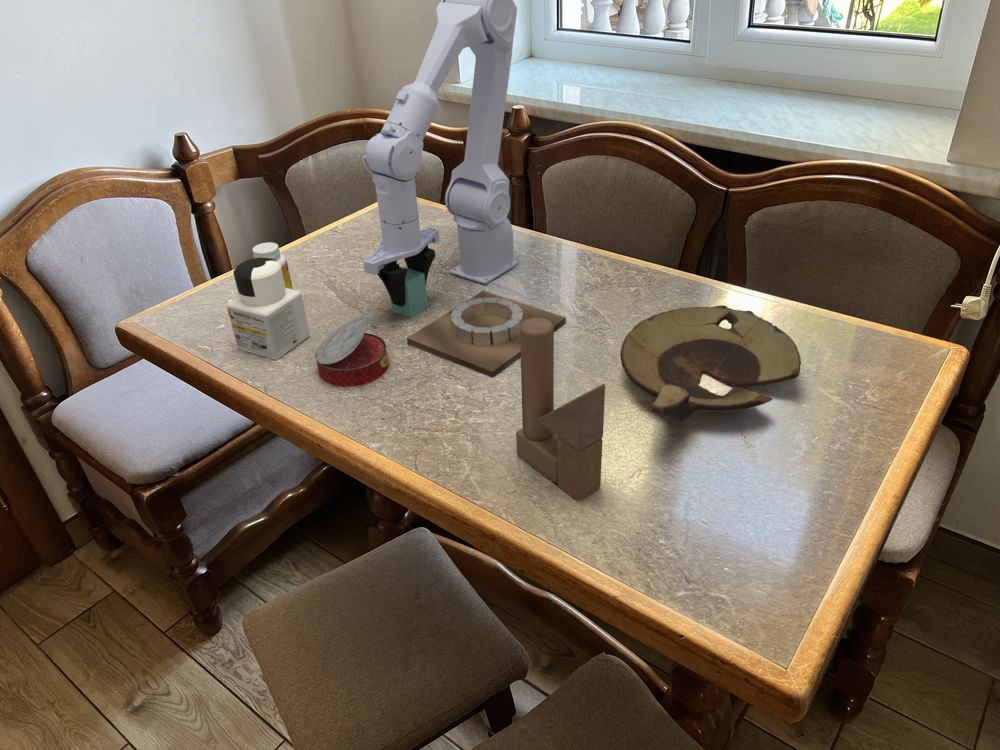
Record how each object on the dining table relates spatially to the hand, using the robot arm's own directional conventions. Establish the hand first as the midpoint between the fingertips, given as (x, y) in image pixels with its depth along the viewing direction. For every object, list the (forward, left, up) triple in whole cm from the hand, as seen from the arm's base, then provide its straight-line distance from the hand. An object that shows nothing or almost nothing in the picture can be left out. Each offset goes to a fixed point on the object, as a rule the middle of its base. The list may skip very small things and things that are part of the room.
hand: (408, 298), depth 122 cm
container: (+19, -10, -2) cm, 22 cm away
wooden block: (+19, +41, -2) cm, 45 cm away
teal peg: (0, 0, -2) cm, 2 cm away
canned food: (+17, +5, -2) cm, 18 cm away
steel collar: (-1, +15, -2) cm, 15 cm away
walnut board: (-1, +15, -2) cm, 15 cm away
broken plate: (-5, +46, -2) cm, 46 cm away
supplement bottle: (+11, -19, -2) cm, 22 cm away
